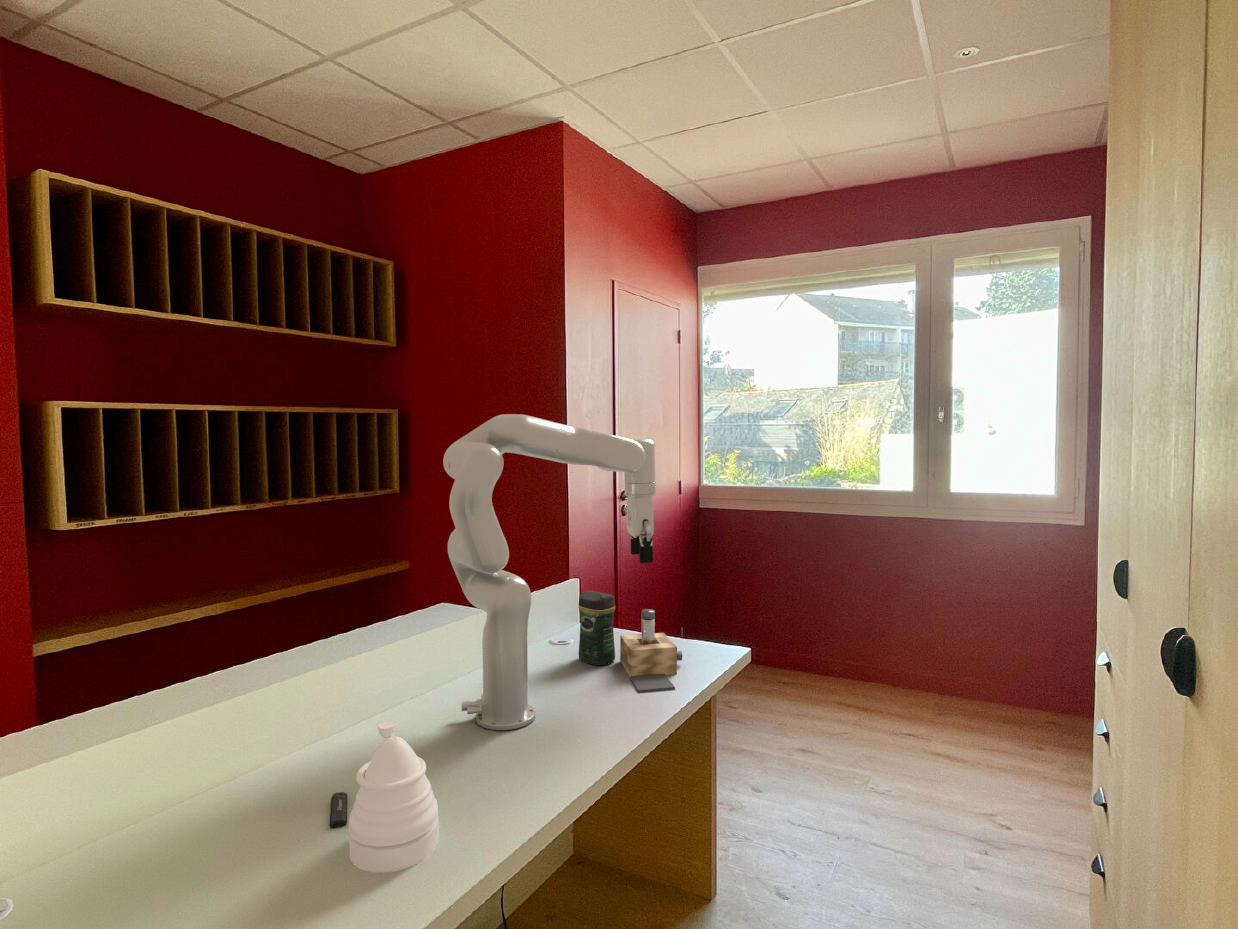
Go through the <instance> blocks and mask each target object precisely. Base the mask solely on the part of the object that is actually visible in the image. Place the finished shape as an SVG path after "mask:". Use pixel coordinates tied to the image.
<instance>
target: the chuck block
mask: <svg viewBox="0 0 1238 929" xmlns="http://www.w3.org/2000/svg"><path fill="white" fill-rule="evenodd" d="M619 639H620V640H619V641H620V642H619V643H620V645H619V646H620V647H619V649H620V650H619V652H620V653H619V654H620V655H619V656H620V658H619V662H620V664H621V665H622V664H623V665H622V666H623V668H624V669H625V671H626V670H627V671H626V673H627V675H629V677H630V676H639V675H651V674H665V675H666V676H670V674H671V675H677V674H678V661H683V653H682V650H678V646H677V645H676V644H675V643H674V642H673V641H672V640H671V639H670V638H669V637H668V636H667V634H666V633H665V632H655V644H646V645H641V640H642V633H639V634H624V635H623V634H622V635H620V637H619Z"/></svg>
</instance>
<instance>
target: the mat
mask: <svg viewBox="0 0 1238 929" xmlns="http://www.w3.org/2000/svg"><path fill="white" fill-rule="evenodd" d="M629 680H630V682H631V681H632V682H631V683H632V685H633V687H634V688H635V689H636V691H637V692H638V693H650V692H661V691H662V690H663V691H672V690H671V689H674V690H676V686H675V685H674V684H673V683H672V681H671V680H670V679H669V678H668V675H665V674H651V675H639V676H630V675H629Z"/></svg>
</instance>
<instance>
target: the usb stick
mask: <svg viewBox="0 0 1238 929" xmlns="http://www.w3.org/2000/svg"><path fill="white" fill-rule="evenodd" d="M348 799H349V798H348V793H347V792H343V791H342V792H341V791H340V792H335V793H333V794H332V796H331V798H330V813H329V825H328V826H329V828H330V829H338V828H343V827H345V826H347V823H348Z"/></svg>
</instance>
